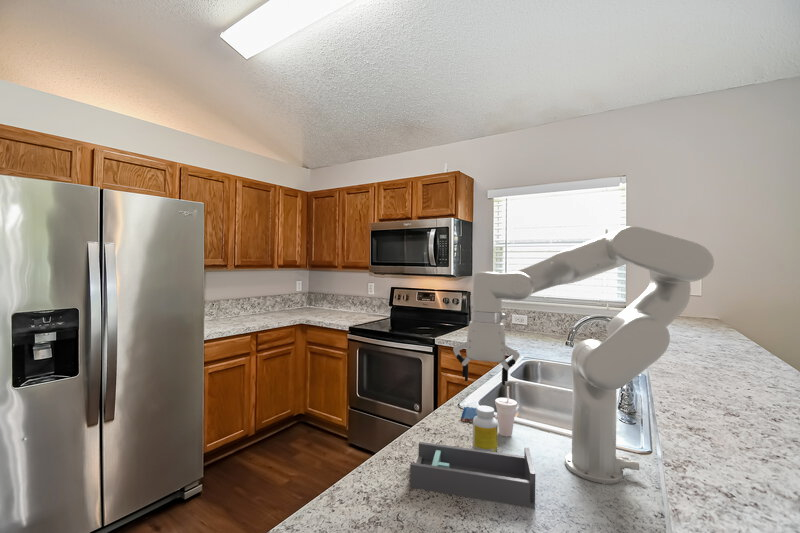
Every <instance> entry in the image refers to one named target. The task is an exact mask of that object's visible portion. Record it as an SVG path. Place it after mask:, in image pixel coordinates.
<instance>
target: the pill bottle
mask: <svg viewBox="0 0 800 533" xmlns="http://www.w3.org/2000/svg"><path fill="white" fill-rule="evenodd" d="M475 408H476V413H477V416H475V417H474V418H473V421H472V448H471V449H476V450H483V451H490V452H498V433H499V428H498V419H496V417H495V418H494V417H493V416H495V415H494V412H495V408H494V407H492V406H488V405H485V404H484V405H478V406H477V407H475Z"/></svg>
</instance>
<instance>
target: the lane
mask: <svg viewBox="0 0 800 533" xmlns="http://www.w3.org/2000/svg"><path fill="white" fill-rule="evenodd" d="M436 450H441V462H443V463H449V468H445V467H439V466H432V462H433V459H434V455H435V452H436ZM523 453H524V454H523V455H521V454H520V455H519V454H512V453H511V454H510V453H506V452H505V453H504V452H498V451H497V452H490V451H483V450H476V449H473V448H468V447H460V446H453V445H445V444H438V443H431V442H423V441H419V442H418V456H417V459H416V462H412V461H411V462H410V464H409V466H410V467H409V468H410V469H409V470H410V471H409V472H410V473H409V488H411V489H416V490H421V491H427V492H428V491H429V492H435V493H439V494H440V493H441V494H445V495H450V496H451V495H452V496H458V497H464V498H469V499H475V500H481V501H486V502H494V503H499V504H505V505H510V506H517V507H521V508H527V509H528V508H529V509H534V510H535V509H536V470H535V467H534V463H533V459H532V455H531V451H530V448H529V447H524V452H523Z"/></svg>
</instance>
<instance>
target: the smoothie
mask: <svg viewBox="0 0 800 533" xmlns="http://www.w3.org/2000/svg"><path fill="white" fill-rule="evenodd" d="M494 404H495V406H496V409H495V410H496V417H497V423H498V434H499V435H500V436H501V437H505V436H506V438H508V437H507V436H510V437H512V436H513V429H514V424H515V416H516V411H517V410H516V409H517V407H518V402H517V400H515V399H512V398H510V386H507V387H506V397H498V398H497V397H496V399H495V400H494ZM511 435H512V436H511Z"/></svg>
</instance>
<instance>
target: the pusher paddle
mask: <svg viewBox="0 0 800 533" xmlns="http://www.w3.org/2000/svg"><path fill="white" fill-rule="evenodd" d="M432 466H439V467H445V468H449V463H443V462H441V450H436V452H435V455H434V459H433V462H432Z"/></svg>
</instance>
